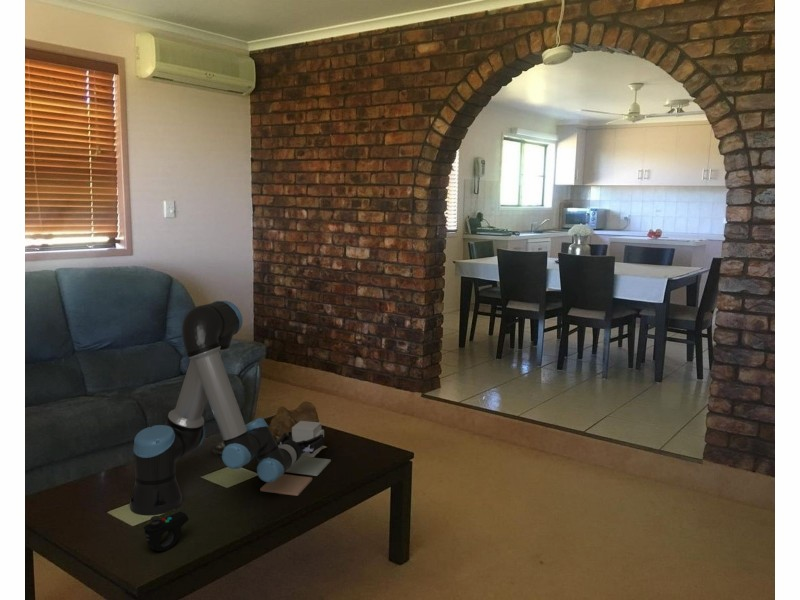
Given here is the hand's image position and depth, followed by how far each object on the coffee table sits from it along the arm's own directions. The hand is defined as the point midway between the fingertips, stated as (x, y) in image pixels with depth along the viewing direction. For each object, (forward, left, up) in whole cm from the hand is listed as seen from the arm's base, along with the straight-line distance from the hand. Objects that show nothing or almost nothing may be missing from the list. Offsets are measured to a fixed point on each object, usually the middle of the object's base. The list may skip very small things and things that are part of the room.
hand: (311, 432), depth 236 cm
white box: (-5, 0, -6) cm, 7 cm away
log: (0, +34, -12) cm, 36 cm away
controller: (-68, +15, -11) cm, 70 cm away
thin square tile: (-22, 0, -11) cm, 24 cm away
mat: (-5, 0, -11) cm, 12 cm away
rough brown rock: (+16, +11, -11) cm, 23 cm away
